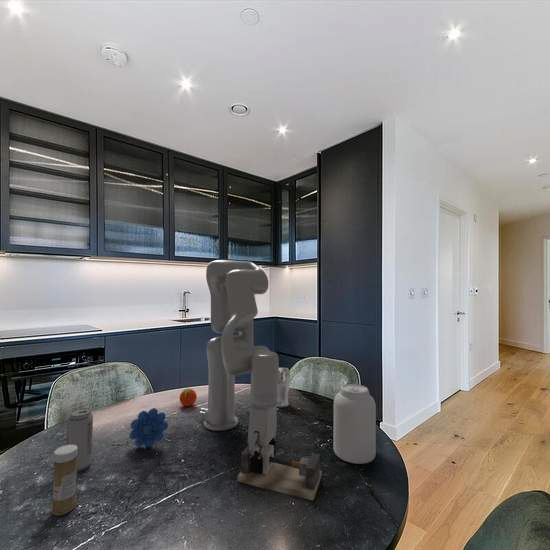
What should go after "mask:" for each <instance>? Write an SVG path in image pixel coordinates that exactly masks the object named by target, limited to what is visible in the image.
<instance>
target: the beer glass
mask: <svg viewBox="0 0 550 550" xmlns="http://www.w3.org/2000/svg"><path fill="white" fill-rule="evenodd" d="M290 374H291V373H290V368H288V367H283V366H282V367H281V366H279V373H278V405H277V406H276V408H287V407H289V406H290V405H289V390H290V386H291V385H290V384H291V375H290Z"/></svg>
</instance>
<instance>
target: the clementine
mask: <svg viewBox="0 0 550 550" xmlns="http://www.w3.org/2000/svg"><path fill="white" fill-rule="evenodd" d="M179 401H180V404H181V405H182V406H184V407H190V406H193V405H194V404H195V403H196V401H197V392H196V391H195V390H194V389H192V388H186V389H184V390H182V391H181V393H180V395H179Z"/></svg>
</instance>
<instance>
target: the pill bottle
mask: <svg viewBox="0 0 550 550" xmlns="http://www.w3.org/2000/svg"><path fill="white" fill-rule="evenodd" d="M77 453H78V447H77V446H76V445H67V444H65V445H62V446H59V447H58V448H56V449H55V450H54V452H53V457H52V461H53V464H54V465H53V479H52V480H53V483H52V508H51V514H52V515H53V516H56V517H59V516H63V515H66V514H68V513H70V512H72V511H73V509H75V507H76V490H77V472H76V458H77Z"/></svg>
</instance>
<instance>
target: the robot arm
mask: <svg viewBox="0 0 550 550" xmlns="http://www.w3.org/2000/svg"><path fill="white" fill-rule="evenodd" d="M205 277H206V282H207V283H206V285H207V287H208V289H209V295H210V327H211V330H212V331H213V332H215V333H219V334H221V336H216V337H213V338H211V339H209V340H208V342H207V343H206V346H205V347H206V356H207V357H206V358H207V365H208V366H207V367H208V368H207V369H208V386H207V387H208V388H207V389H208V391H207V393H208V395H207V400H208V401H207V402H208V403H207V408H206V407H201V408H200V411H199V414H198V415H199V416H202V417H205V418H204V420H203V421H202V422H203V427H204V428H206V429H207V430H210V431H216V432H219V431H220V432H221V431H227V430H232V429H233V428H235V427H236V426H238V424H239V418H238V416H236V415H235V391H236V390H235V388H236V387H235V384H236V383H235V380H236V379H235V378H236V377H235V376H239V375H246V374H250V412H249V417H248V418H249V419H248V430H247V446H248V445H249V451H250V452H249V453H250V458H251V472H252V473H256V474H262V473H263V458H262V453H263V448H264V447H266V446H267V445H268V444H269V445H274V456H276V442H277V441H276V439H277V436H276V435H277V434H276V433H277V429H278V428H277V427H278V411H277V407H276V406H277V405H278V373H279V367H280V366H279V364H280V361H279V355H278V354H277V352H274V351H271V350H270V349H269V348H268V347H267V346H265V345H254V344H255V343H254V342H255V341H254V319H255V317H257V315H258V306H257V305H258V304H257V302H256V301H257V300H256V298H255V295H264V294H266V293H267V291H268V289H269V279H268V276H267V273H266V272H265V270H264V269H262V268H261V267H260V266H258V265H257V264H256V263H254V262H253V261H250V260H248V261H246V260H231V259H216V260H213V261H210V262H209V263H208V265H207V267H206V272H205ZM234 333H238V335H234ZM257 442H259V444H260V443H261V445H259V444H257ZM256 447H258V448H260V451H259V453H258V451H256Z"/></svg>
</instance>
